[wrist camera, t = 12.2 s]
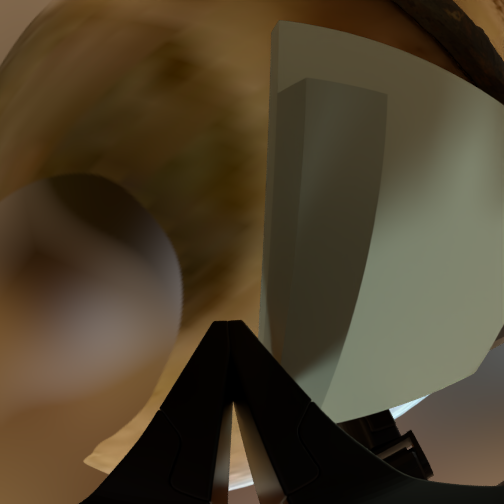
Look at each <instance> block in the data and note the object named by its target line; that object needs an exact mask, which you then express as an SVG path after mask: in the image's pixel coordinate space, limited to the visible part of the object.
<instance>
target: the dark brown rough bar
mask: <svg viewBox="0 0 504 504" xmlns="http://www.w3.org/2000/svg"><path fill="white" fill-rule="evenodd" d="M393 1H394V2H396V3H397V4H398V5H399V6H400V7H401V8H402V9H404V10H405V11H406V12H407V13H408V14H409V15H411V16H412V17H413V18H414V19H415V20H416V21H417V22H418V23H419V24H420V25H421V27H423V28H424V29H425V30H427V31H428V32H429V33H430V34H432V35H433V36H434V37H435V38H436V39H437V40H438V41H439V42H440V43H441V44H442V45H443V46H444V47H445V48H446V49H447V50H448V51H449V52H450V53H451V55H452V56H453V57H454V59H455V60H456V61H457V62H458V63H459V64H460V65H461V66H462V68H463V69H464V71H466V72H467V73H468V74H469V75H470V77H471V78H472V80H473V81H474V82H475V83H476V84H477V85H478V87H479V88H480V89H481V90H482V91H483V92H485V93H486V94H488V95H490V96H491V97H493V98H494V99H495V100H497V101H498V102H500V103H501V104H503V105H504V61H503V60H502V58H501V57H500V55H499V54H498V53H497V51H496V50H495V48H494V47H493V45H492V44H491V42H490V40H489V38H488V36H487V35H486V34H485V33H484V30H483V29H482V28H480V27H478V26H476V25H475V24H474V22H473V21H472V20H471V19H470V18H469V17H468V16H467V15H466V14H465V12H464V11H463V10H462V9H461V8H460V7H459V6H458V5H457V4H456V3H455V2H454V1H453V0H393Z"/></svg>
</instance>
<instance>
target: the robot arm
mask: <svg viewBox="0 0 504 504" xmlns="http://www.w3.org/2000/svg"><path fill="white" fill-rule="evenodd" d="M233 403H234V408H235V412H236V416H237V420H238V424H239V428H240V432H241V436H242V440H243V444H244V448H245V452H246V456H247V460H248V463H249V467H250V471H251V474H252V478H253V482H254V485H255V488H256V492H257V495H258V498H259V502H260V504H504V481H503V482H501V483H500V484H498V485H497V486H472V485H459V484H449V483H441V482H434V481H428V479H429V478H430V477H432V476H433V472H432V469H431V467H430V465H429V462H428V460H427V458H426V456H425V454H424V453H423V451H422V449H421V447H420V445H419V443H418V441H417V440H416V438H415V436H414V434H413V433H412V431H411V430H410V431H408V432H407V433H406V434H404V435H402V436H401V434H400V432H399V430H398V428H397V426H396V422H395V420H394V418H393V416H392V414H391V412H390V410H389V409H387V410H384V411H381V412H377V413H374V414H371V415H367V416H364V417H360V418H356V419H352V420H348V421H344V422H340V423H335V422H333V421H332V420H331V419H330V418H329V417H328V416H327V415H326V414H325V413H324V412H323V411H322V410H321V409H320V407H319V406H318V405H317V404H316V403H315V402H314V401H313V402H312V399H311V398H310V397H309V396H308V395H307V394H306V393H305V391H304V390H303V389H302V388H301V387H300V386H299V385H298V384H297V383H296V382H295V380H294V379H293V378H292V377H291V376H290V375H289V374H288V373H287V372H286V370H285V369H284V368H283V367H282V366H281V365H280V364H279V363H278V361H277V360H276V359H275V358H274V357H273V356H272V354H271V353H270V352H269V351H268V350H267V349H266V348H265V346H264V345H263V344H262V343H261V342H260V341H259V339H258V338H257V337H256V336H255V335H254V333H253V332H252V331H251V330H250V329H249V328H248V326H247V325H246V324H245V323H244V322H243V321H242V320H231V321H214V322H213V323H212V324H211V326H210V327H209V329H208V331H207V332H206V334H205V335H204V337H203V339H202V340H201V342H200V344H199V345H198V347H197V348H196V350H195V352H194V353H193V355H192V357H191V358H190V360H189V361H188V363H187V365H186V366H185V368H184V369H183V371H182V373H181V374H180V376H179V377H178V379H177V381H176V382H175V384H174V386H173V387H172V389H171V390H170V392H169V394H168V395H167V397H166V398H165V400H164V402H163V403H162V405H161V406H160V410H158V411H157V413H156V414H155V416H154V417H153V419H152V421H151V422H150V424H149V425H148V427H147V428H146V430H145V431H144V433H143V434H142V436H141V437H140V438H139V440H138V441H137V442H136V443H135V445H134V446H133V447H132V448H131V450H130V451H129V452H128V453H127V455H126V456H125V457H124V458H123V459H122V460H121V462H120V463H119V464H118V465H117V466H116V467H115V469H114V470H113V471H112V472H111V473H110V474H109V475H108V477H107V478H106V479H105V480H104V481H103V482H102V483H101V484H100V486H99V487H98V488H97V489H96V490H95V491H94V492H93V493H92V494H91V495H90V496H89V497H87V498H86V499H85V500H83V501H82V502H80V503H79V504H228V487H229V466H230V447H231V428H232V410H233ZM411 445H412V448H411V449H409V450H407V448H408V447H409V446H411Z"/></svg>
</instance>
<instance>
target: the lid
mask: <svg viewBox="0 0 504 504" xmlns="http://www.w3.org/2000/svg"><path fill="white" fill-rule="evenodd" d="M503 325H504V105H503V104H501V103H500V102H498V101H497V100H495V99H494V98H493V97H491V96H490V95H488V94H486V93H485V92H483V91H482V90H480V89H479V88H477V87H475V86H474V85H472V84H470V83H469V82H467V81H465V80H463V79H462V78H460V77H458V76H456V75H454V74H452V73H451V72H449V71H447V70H445V69H443V68H441V67H439V66H437V65H435V64H432V63H430V62H428V61H426V60H424V59H422V58H419V57H417V56H415V55H412V54H410V53H407V52H405V51H402V50H400V49H397V48H394V47H392V46H389V45H386V44H383V43H380V42H377V41H374V40H371V39H368V38H364V37H361V36H357V35H354V34H350V33H346V32H342V31H338V30H334V29H329V28H325V27H320V26H315V25H309V24H304V23H297V22H290V21H283V20H279V21H278V23H277V24H276V26H275V27H274V29H273V31H272V32H271V67H270V99H269V127H268V153H267V177H266V200H265V221H264V242H263V261H262V280H261V298H260V316H259V333H258V339H259V341H260V342H261V343H262V344H263V345H264V346H265V348H266V349H267V350H268V351H269V352H270V353H271V354H272V356H273V357H274V358H275V359H276V360H277V361H278V363H279V364H280V365H281V366H282V367H283V368H284V369H285V370H286V372H287V373H288V374H289V375H290V376H291V377H292V378H293V379H294V380H295V382H296V383H297V384H298V385H299V386H300V387H301V388H302V389H303V390H304V391H305V393H306V394H307V395H308V396H309V397H310V398H311V399H312V402H313V401H314V402H315V403H316V404H317V405H318V406H319V407H320V409H321V410H322V411H323V412H324V413H325V414H326V415H327V416H328V417H329V418H330V419H331V420H332V421H333V422H335V423H340V422H344V421H348V420H352V419H356V418H360V417H364V416H367V415H371V414H374V413H377V412H381V411H384V410H387V409H390V408H393V407H396V406H399V405H402V404H405V403H408V402H410V401H413V400H416V399H418V398H421V397H423V396H426V395H428V394H431V393H433V392H435V391H438V390H440V389H442V388H444V387H447V386H449V385H451V384H453V383H455V382H457V381H460V380H462V379H464V378H466V377H468V376H470V375H472V374H473V373H475V372H476V370H477V368H478V367H479V366H480V364H481V362H482V361H483V359H484V358H485V356H486V354H487V353H488V351H489V350H490V348H491V346H492V345H493V343H494V341H495V339H496V338H497V336H498V334H499V332H500V330H501V328H502V327H503Z"/></svg>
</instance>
